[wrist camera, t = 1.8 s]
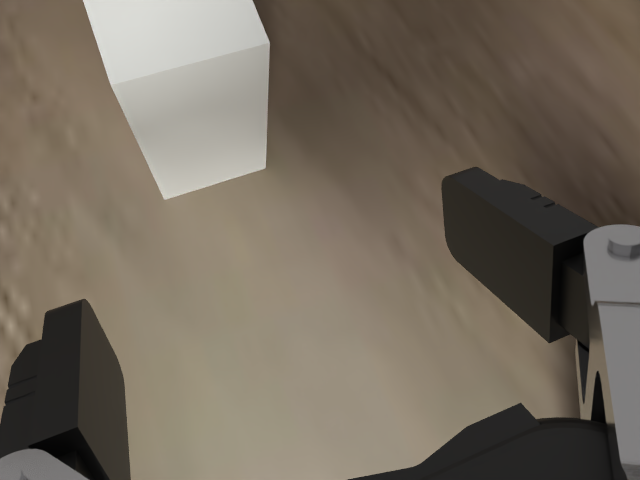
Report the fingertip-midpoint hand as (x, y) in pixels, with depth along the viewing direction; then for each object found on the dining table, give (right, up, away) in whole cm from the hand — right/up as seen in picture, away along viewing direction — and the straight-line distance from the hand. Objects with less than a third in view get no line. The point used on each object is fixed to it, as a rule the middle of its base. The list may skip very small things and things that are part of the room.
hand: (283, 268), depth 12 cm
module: (-5, +5, +15) cm, 17 cm away
